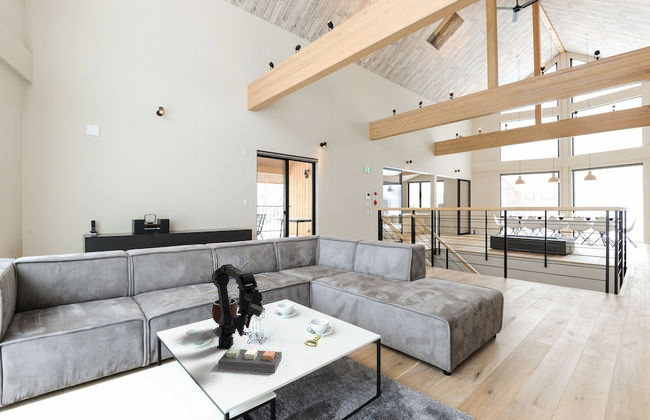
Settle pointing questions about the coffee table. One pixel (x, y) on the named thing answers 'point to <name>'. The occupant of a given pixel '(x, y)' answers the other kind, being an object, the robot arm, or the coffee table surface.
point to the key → (313, 341)
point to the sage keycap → (233, 353)
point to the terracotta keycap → (269, 355)
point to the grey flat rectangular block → (250, 362)
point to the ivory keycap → (251, 354)
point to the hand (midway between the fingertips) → (244, 332)
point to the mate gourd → (217, 313)
